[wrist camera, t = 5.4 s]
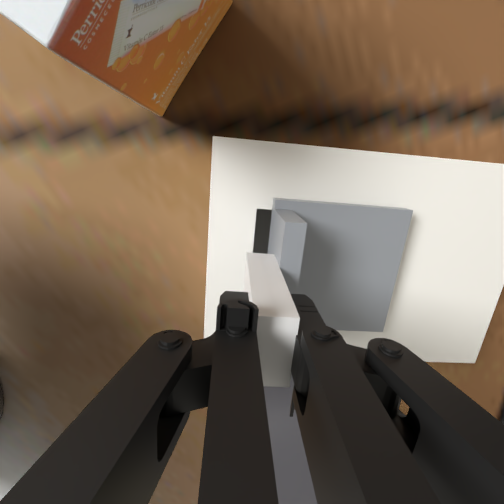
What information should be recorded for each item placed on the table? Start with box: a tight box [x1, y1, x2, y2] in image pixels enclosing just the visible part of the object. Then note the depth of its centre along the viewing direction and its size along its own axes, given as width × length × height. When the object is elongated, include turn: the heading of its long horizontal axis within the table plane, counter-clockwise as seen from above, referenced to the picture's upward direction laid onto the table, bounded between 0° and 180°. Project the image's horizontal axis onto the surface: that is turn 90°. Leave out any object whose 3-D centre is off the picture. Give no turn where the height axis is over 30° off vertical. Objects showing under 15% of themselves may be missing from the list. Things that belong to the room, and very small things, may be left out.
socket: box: [204, 136, 504, 363], centre depth 21 cm, size 20×14×4 cm
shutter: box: [267, 198, 413, 332], centre depth 17 cm, size 8×8×4 cm
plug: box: [264, 374, 317, 504], centre depth 20 cm, size 5×5×13 cm
